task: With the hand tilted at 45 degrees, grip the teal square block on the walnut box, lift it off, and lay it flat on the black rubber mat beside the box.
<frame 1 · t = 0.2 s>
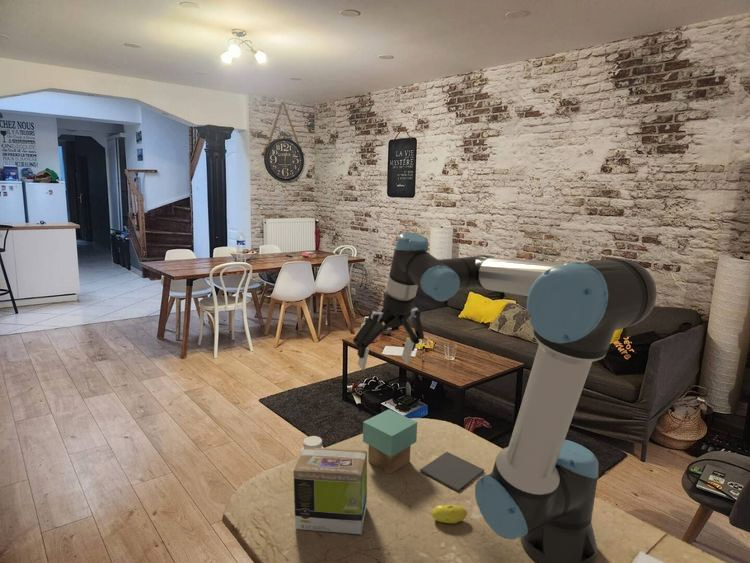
hand: (383, 363, 132), 27 cm above the table, tool tilted 15°, fingers open, 13 cm apart
yellow oblong rounded piece: (449, 521, 112), on the table
walnut box: (389, 461, 134), on the table
rubber mat: (452, 471, 130), on the table
teal square block: (389, 441, 133), point 6 cm above the table, touching walnut box
tea box: (331, 518, 112), on the table
pill bottle: (313, 480, 125), on the table
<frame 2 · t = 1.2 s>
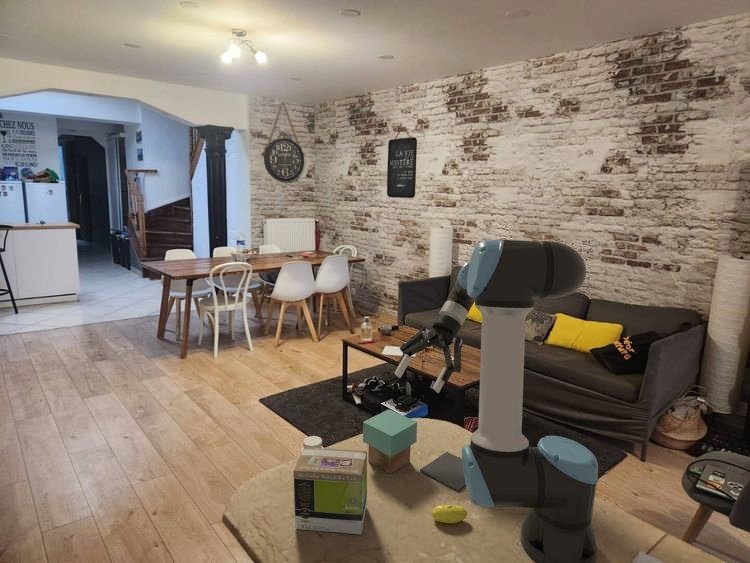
hand: (415, 382, 137), 20 cm above the table, tool tilted 45°, fingers open, 13 cm apart
nothing on the table moved.
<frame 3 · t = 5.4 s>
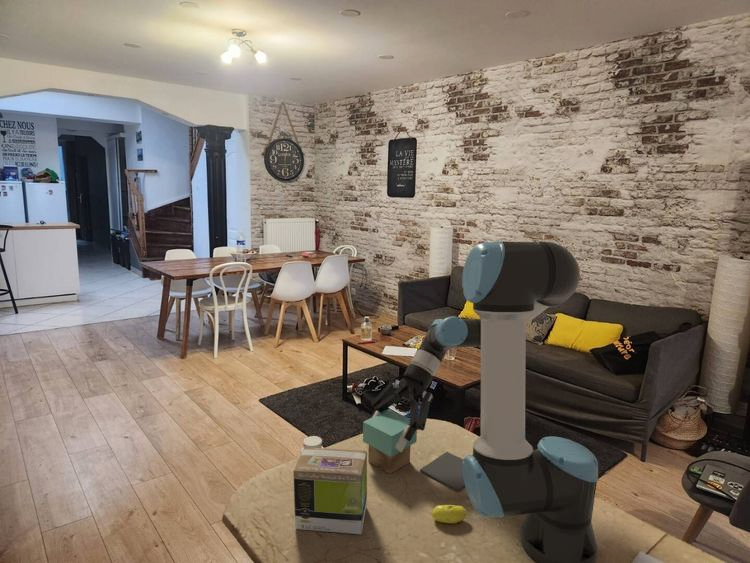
hand: (382, 441, 130), 7 cm above the table, tool tilted 45°, fingers closed on teal square block, 10 cm apart
teal square block: (389, 441, 133), point 6 cm above the table, touching gripper, walnut box
everything else where it was.
when the fingers open (4 cm above the table, at t = 13.4 s): teal square block drops 2 cm, resting on rubber mat.
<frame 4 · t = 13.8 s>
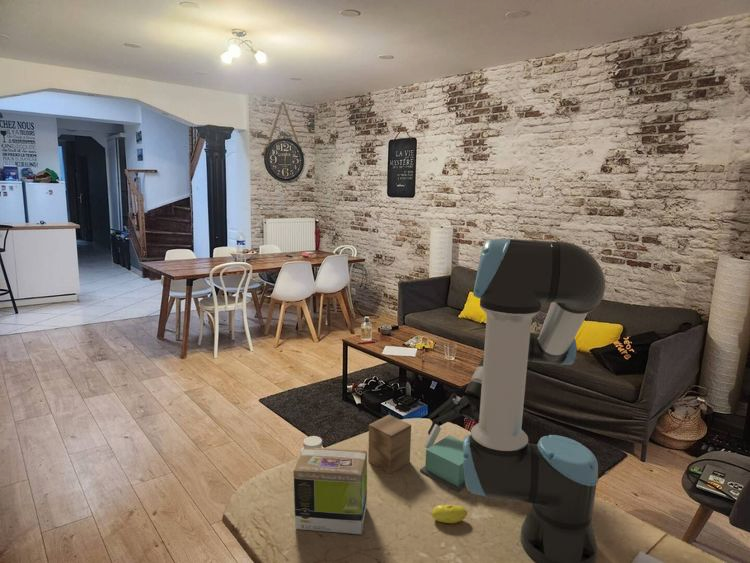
hand: (447, 458, 127), 5 cm above the table, tool tilted 45°, fingers open, 13 cm apart
teal square block: (452, 469, 130), point 1 cm above the table, touching rubber mat
everything else where it was.
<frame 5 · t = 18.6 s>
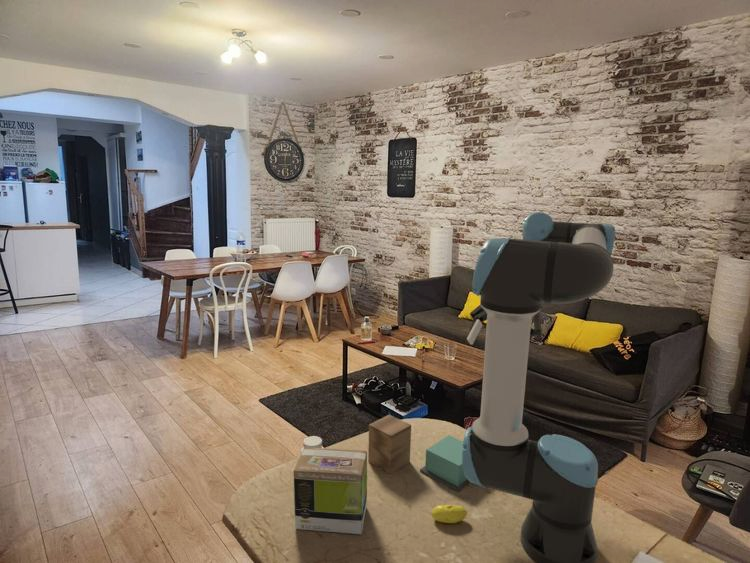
hand: (491, 348, 128), 33 cm above the table, tool tilted 45°, fingers open, 13 cm apart
nothing on the table moved.
at the end: teal square block inside the target area on the rubber mat (0.1 cm from its centre), point 0.6 cm above the rubber mat's base; teal square block tilted 0°; the gripper is holding nothing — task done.
